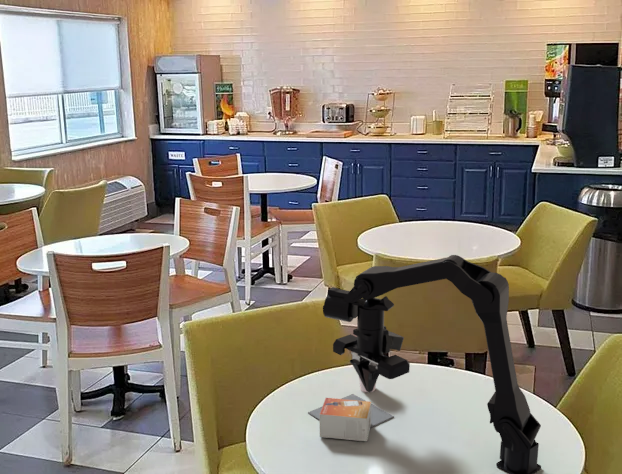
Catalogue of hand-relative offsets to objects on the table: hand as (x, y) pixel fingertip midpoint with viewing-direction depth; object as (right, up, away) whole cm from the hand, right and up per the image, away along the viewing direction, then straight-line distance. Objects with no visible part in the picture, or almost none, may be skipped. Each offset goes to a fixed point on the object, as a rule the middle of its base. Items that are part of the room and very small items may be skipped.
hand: (369, 391), depth 153 cm
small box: (0, -6, -2) cm, 6 cm away
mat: (-4, -7, +7) cm, 11 cm away
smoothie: (+1, -4, +19) cm, 20 cm away
